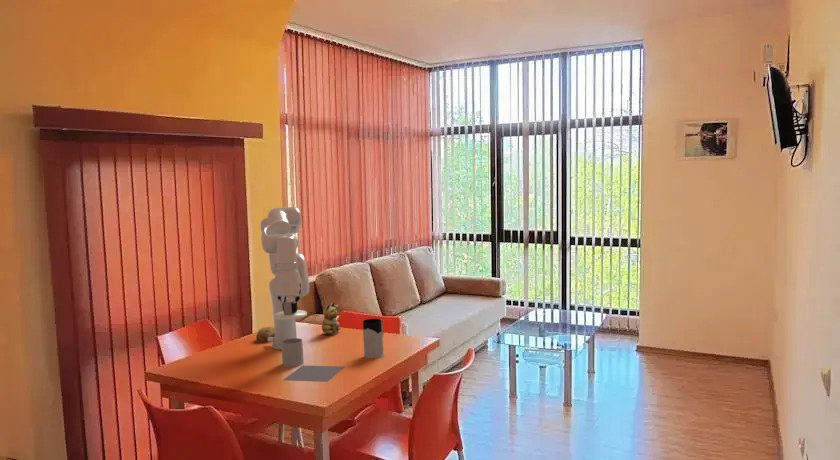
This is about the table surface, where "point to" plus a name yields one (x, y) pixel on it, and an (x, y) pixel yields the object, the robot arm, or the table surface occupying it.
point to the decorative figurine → (330, 320)
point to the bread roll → (265, 334)
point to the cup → (292, 352)
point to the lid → (289, 312)
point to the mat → (314, 373)
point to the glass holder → (373, 338)
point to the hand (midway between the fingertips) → (290, 312)
